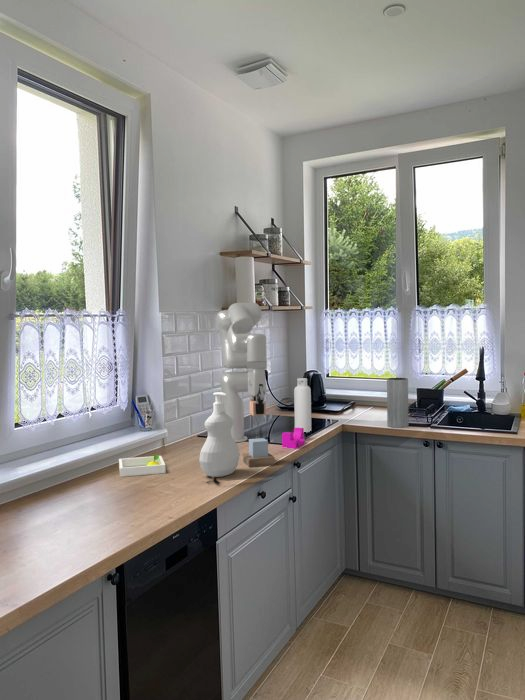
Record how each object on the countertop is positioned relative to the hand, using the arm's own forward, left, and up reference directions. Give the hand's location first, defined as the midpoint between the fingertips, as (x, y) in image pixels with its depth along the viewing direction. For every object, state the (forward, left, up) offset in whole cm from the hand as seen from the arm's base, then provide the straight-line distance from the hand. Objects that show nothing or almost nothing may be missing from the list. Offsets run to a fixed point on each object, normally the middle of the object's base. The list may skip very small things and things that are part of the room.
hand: (257, 412), depth 215 cm
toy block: (-23, +23, -20) cm, 38 cm away
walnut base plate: (0, 0, -20) cm, 20 cm away
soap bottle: (+12, -18, -20) cm, 29 cm away
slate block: (0, 0, -17) cm, 17 cm away
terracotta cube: (0, 0, -1) cm, 1 cm away
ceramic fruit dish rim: (-5, -44, -20) cm, 49 cm away
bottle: (-46, +35, -20) cm, 61 cm away
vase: (-35, +80, -20) cm, 89 cm away
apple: (-9, -40, -24) cm, 47 cm away
